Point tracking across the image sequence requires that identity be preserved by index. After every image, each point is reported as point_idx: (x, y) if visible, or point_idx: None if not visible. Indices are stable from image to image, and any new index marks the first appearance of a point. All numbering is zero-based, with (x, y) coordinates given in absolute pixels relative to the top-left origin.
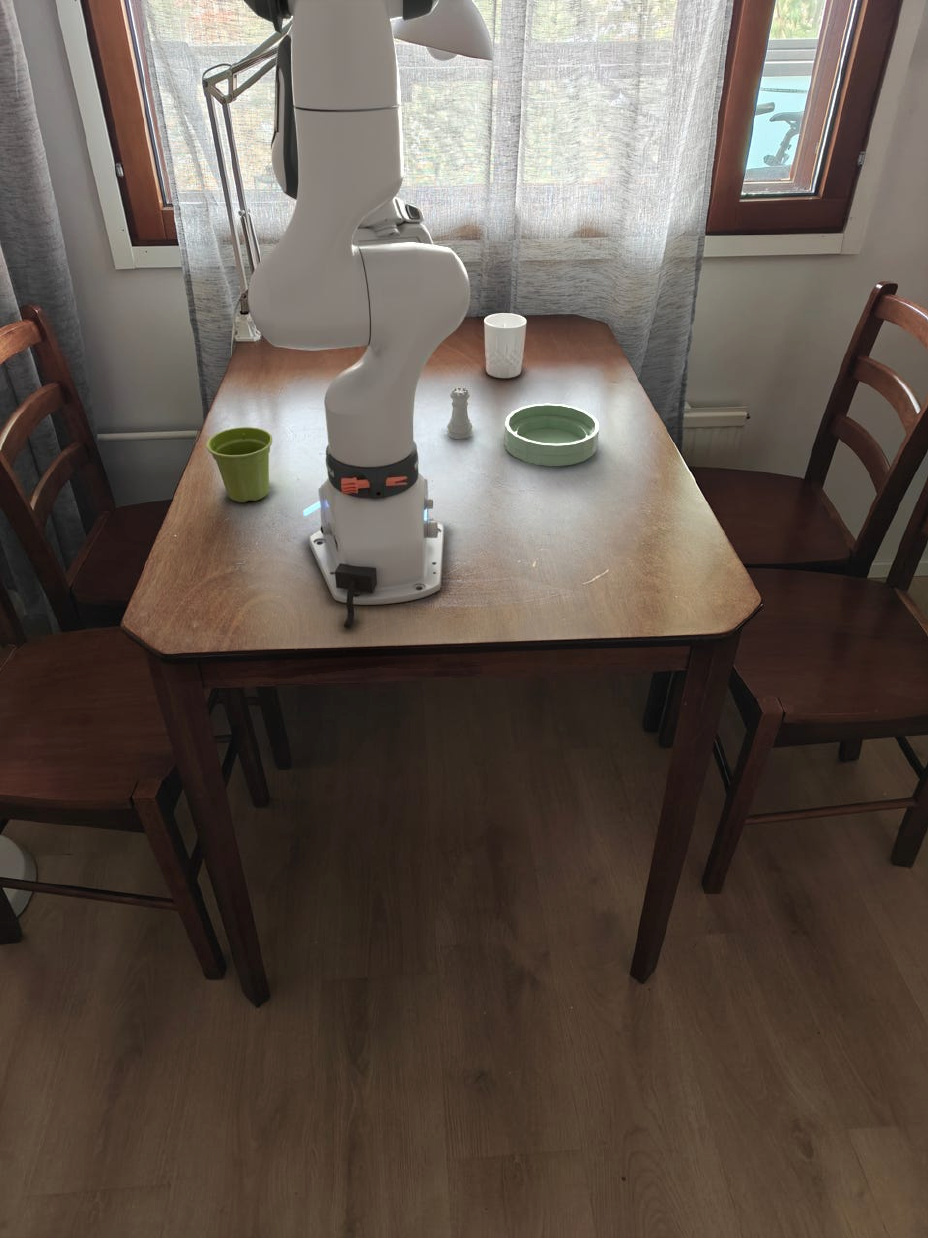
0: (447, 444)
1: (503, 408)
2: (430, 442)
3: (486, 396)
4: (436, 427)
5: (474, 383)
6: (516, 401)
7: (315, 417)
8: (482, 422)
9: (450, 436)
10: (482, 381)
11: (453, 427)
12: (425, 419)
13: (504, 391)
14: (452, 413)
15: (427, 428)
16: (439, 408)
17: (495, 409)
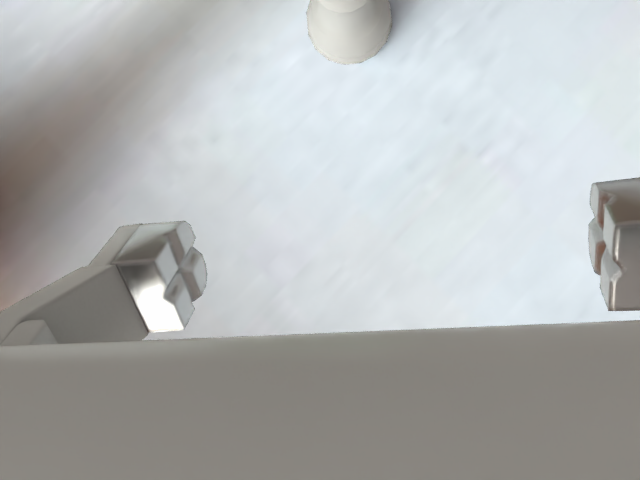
0: (425, 3)
1: (116, 63)
2: (454, 50)
3: (88, 166)
4: (365, 115)
5: (42, 266)
6: (49, 71)
7: None
8: (236, 38)
9: (390, 24)
10: (13, 258)
11: (383, 5)
12: (349, 182)
13: (20, 151)
14: (369, 7)
15: (391, 130)
16: (259, 210)
17: (139, 76)
